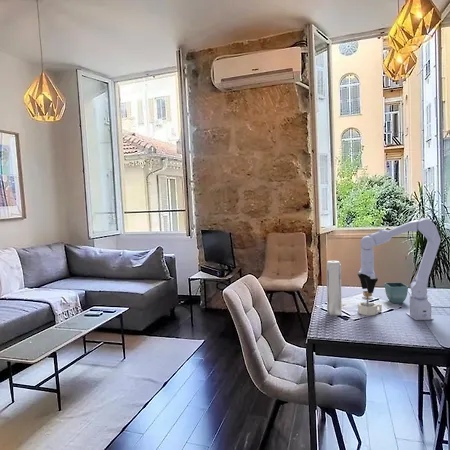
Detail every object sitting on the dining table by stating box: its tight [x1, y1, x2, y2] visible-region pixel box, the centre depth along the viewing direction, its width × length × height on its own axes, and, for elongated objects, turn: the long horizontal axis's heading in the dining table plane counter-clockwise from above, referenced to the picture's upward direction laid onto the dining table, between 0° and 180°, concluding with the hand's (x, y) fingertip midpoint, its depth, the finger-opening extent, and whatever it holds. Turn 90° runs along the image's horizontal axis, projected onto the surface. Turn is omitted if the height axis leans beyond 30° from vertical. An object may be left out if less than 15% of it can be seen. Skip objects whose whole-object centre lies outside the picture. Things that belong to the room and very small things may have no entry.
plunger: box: [361, 290, 374, 306], centre depth 185 cm, size 5×5×6 cm
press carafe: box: [357, 301, 383, 316], centre depth 186 cm, size 8×10×4 cm
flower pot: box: [384, 282, 409, 304], centre depth 201 cm, size 9×9×9 cm
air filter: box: [326, 260, 343, 317], centre depth 185 cm, size 6×6×25 cm
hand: (367, 290), depth 185 cm, fingers open, 7 cm apart
